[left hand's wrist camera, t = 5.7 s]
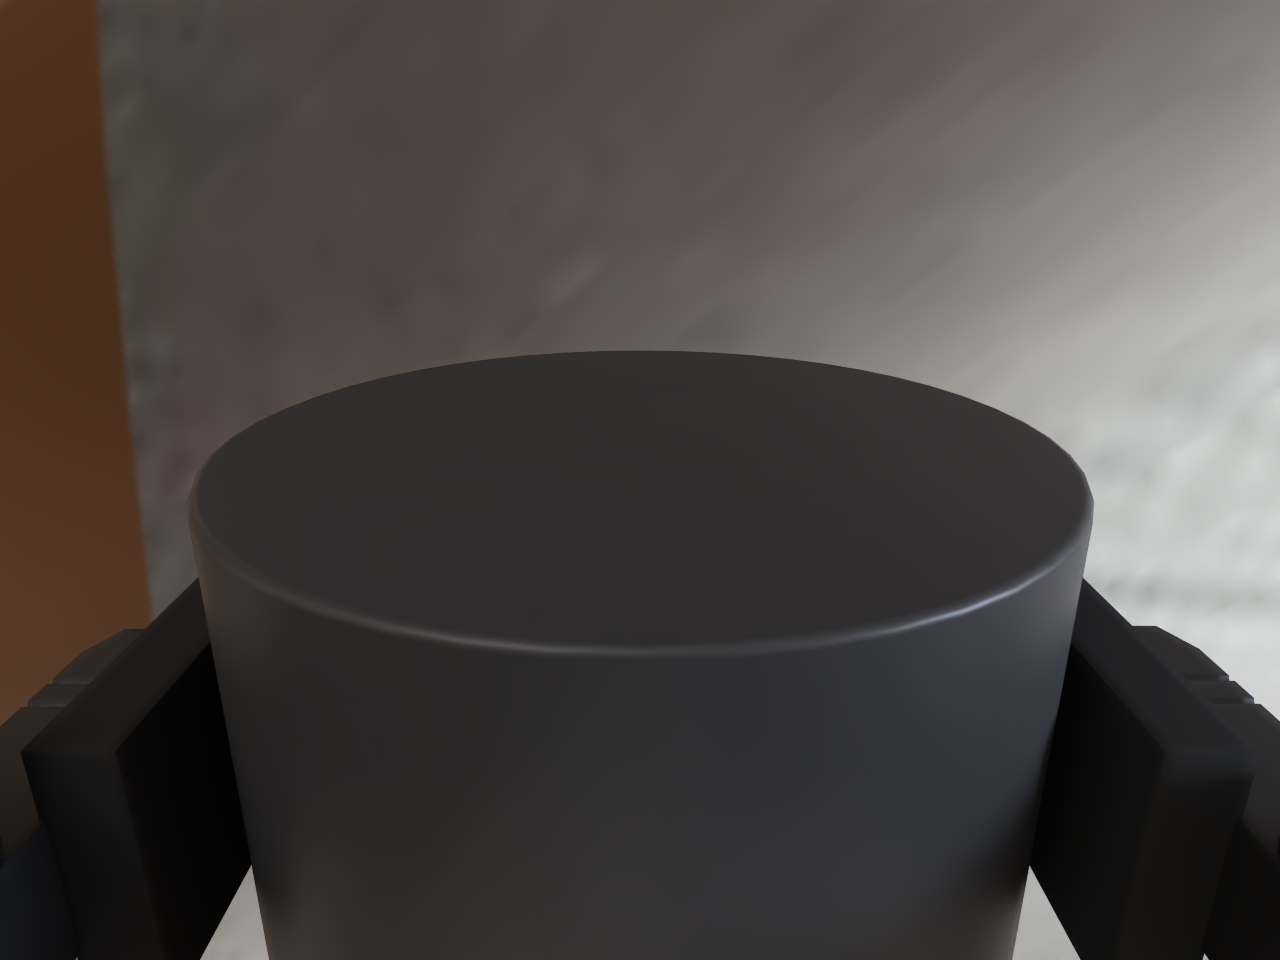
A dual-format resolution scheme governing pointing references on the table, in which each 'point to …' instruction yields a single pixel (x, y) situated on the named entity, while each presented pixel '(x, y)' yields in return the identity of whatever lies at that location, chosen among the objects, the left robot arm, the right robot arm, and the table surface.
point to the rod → (640, 660)
